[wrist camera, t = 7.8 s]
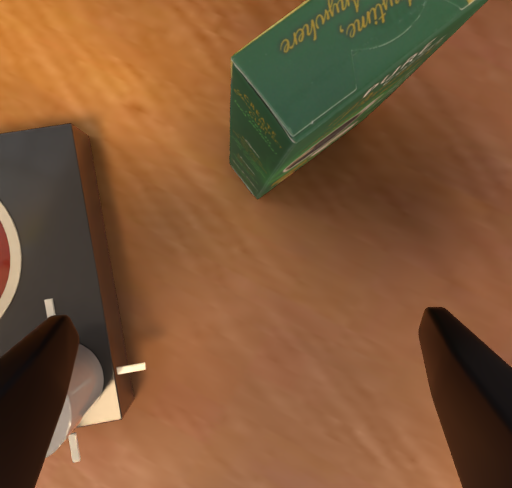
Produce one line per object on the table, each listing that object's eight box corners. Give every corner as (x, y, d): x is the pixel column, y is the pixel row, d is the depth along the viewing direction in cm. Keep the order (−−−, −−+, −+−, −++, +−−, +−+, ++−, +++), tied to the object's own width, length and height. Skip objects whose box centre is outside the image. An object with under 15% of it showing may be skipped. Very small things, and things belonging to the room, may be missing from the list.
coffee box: (338, 77, 23) (475, -136, 10) (368, 118, 23) (541, -40, 10) (226, 161, 23) (214, 57, 10) (257, 202, 23) (285, 153, 10)
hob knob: (96, 333, 20) (58, 359, 16) (110, 412, 20) (76, 459, 16) (14, 348, 20) (-46, 378, 16) (29, 427, 20) (-27, 479, 16)
